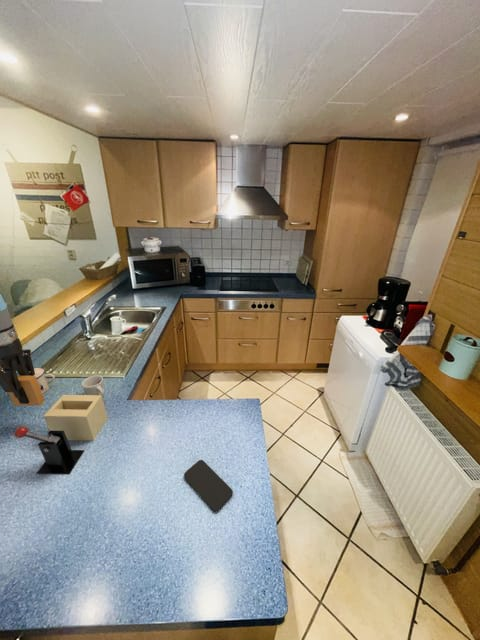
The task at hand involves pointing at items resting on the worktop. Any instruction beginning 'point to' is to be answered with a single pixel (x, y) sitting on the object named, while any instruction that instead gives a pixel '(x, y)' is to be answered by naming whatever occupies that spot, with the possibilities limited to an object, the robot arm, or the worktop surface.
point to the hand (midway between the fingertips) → (28, 399)
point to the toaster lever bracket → (58, 455)
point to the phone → (208, 485)
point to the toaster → (77, 416)
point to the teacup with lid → (43, 379)
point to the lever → (35, 435)
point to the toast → (29, 391)
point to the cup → (94, 385)
